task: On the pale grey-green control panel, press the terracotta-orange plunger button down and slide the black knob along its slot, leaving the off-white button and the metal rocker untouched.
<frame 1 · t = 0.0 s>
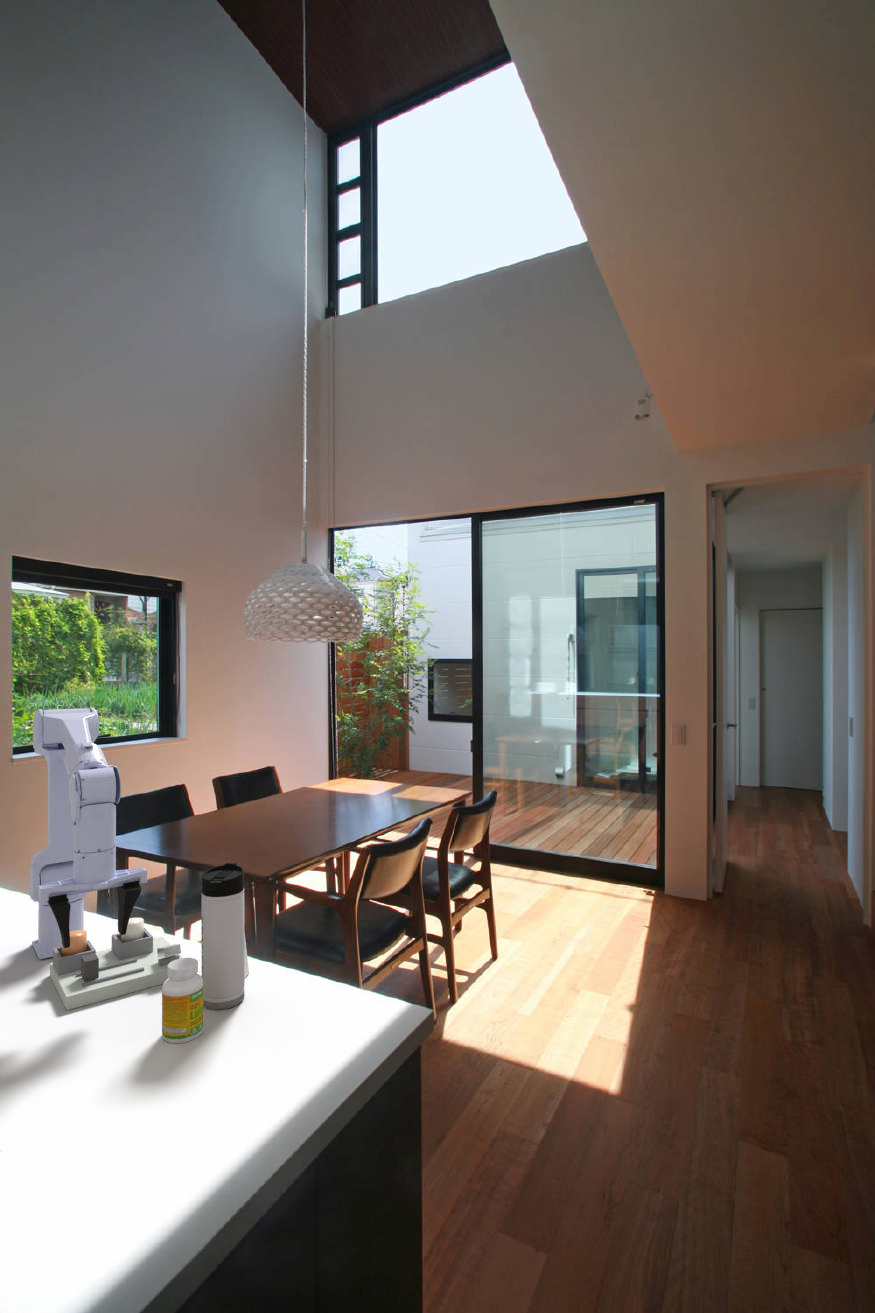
hand: (94, 939, 102), 10 cm above the counter, tool pointing down, fingers open, 7 cm apart
button orange: (74, 943, 112), point 6 cm above the counter, slide at 0.0 cm
pepper shaker: (231, 977, 112), on the counter
rocker: (168, 951, 113), point 4 cm above the counter, hinge at -18.0°
slider knob: (89, 967, 107), point 4 cm above the counter, slide at 0.0 cm
panel: (119, 975, 113), on the counter
travel mug: (223, 1001, 104), on the counter
button white: (132, 930, 118), point 6 cm above the counter, slide at 0.0 cm
supplement bottle: (182, 1035, 94), on the counter
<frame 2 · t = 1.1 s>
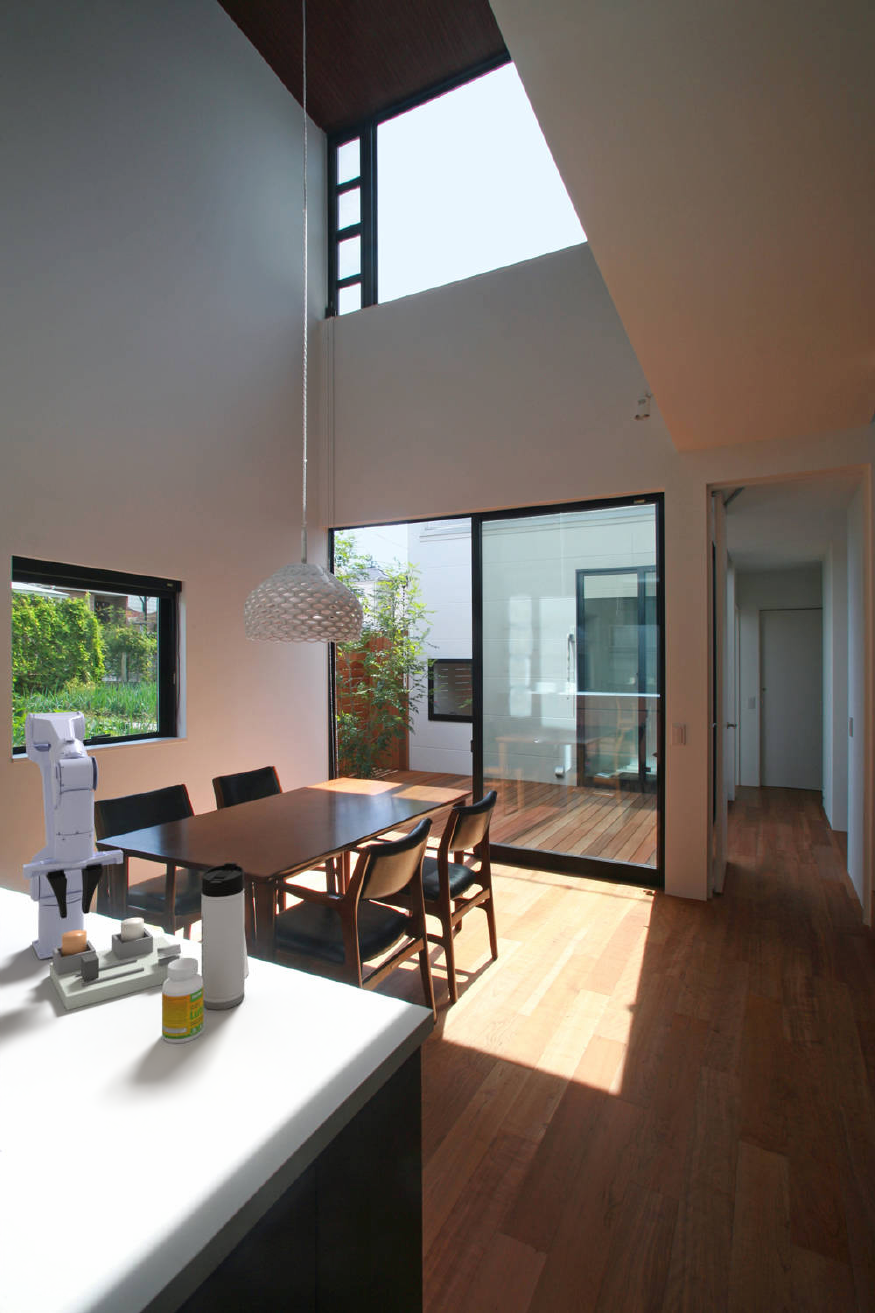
hand: (74, 914, 112), 10 cm above the counter, tool pointing down, fingers open, 3 cm apart
nothing on the counter moved.
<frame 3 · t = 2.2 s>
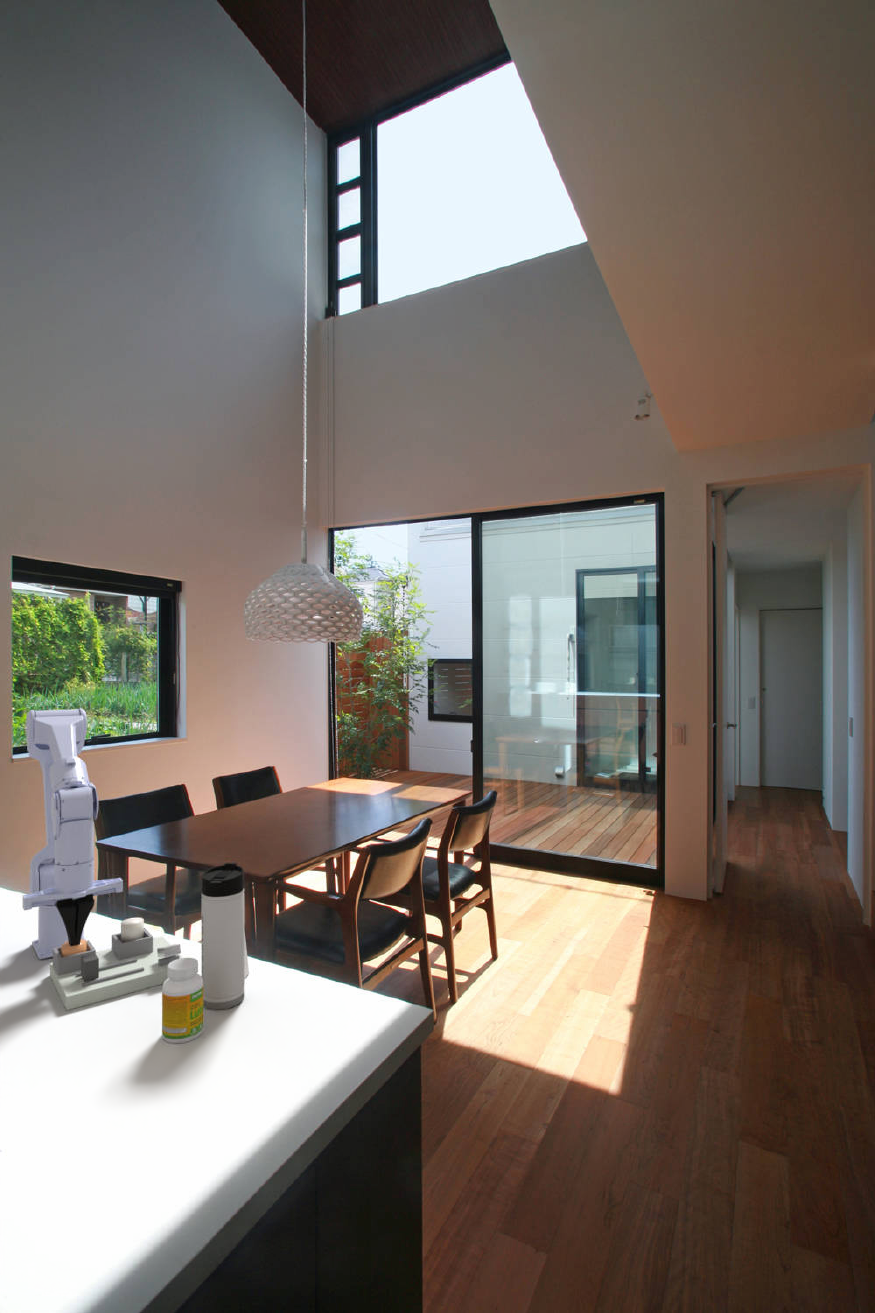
hand: (74, 943, 112), 6 cm above the counter, tool pointing down, fingers closed, pressing on button orange
button orange: (74, 952, 112), point 4 cm above the counter, slide at 1.5 cm, touching gripper
everything else where it was.
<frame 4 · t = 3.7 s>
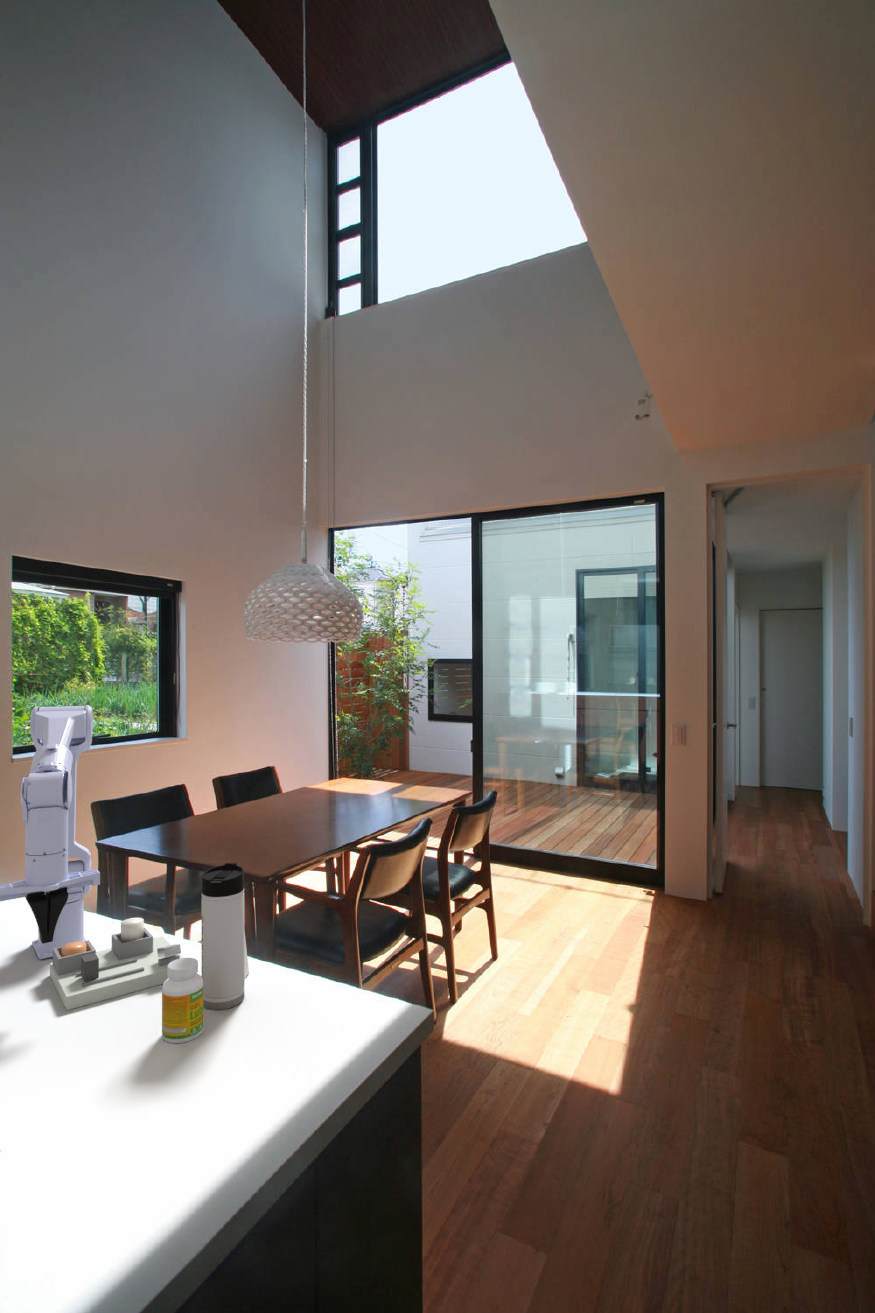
hand: (46, 940, 104), 9 cm above the counter, tool pointing down, fingers closed
button orange: (74, 955, 112), point 4 cm above the counter, slide at 1.9 cm
everything else where it was.
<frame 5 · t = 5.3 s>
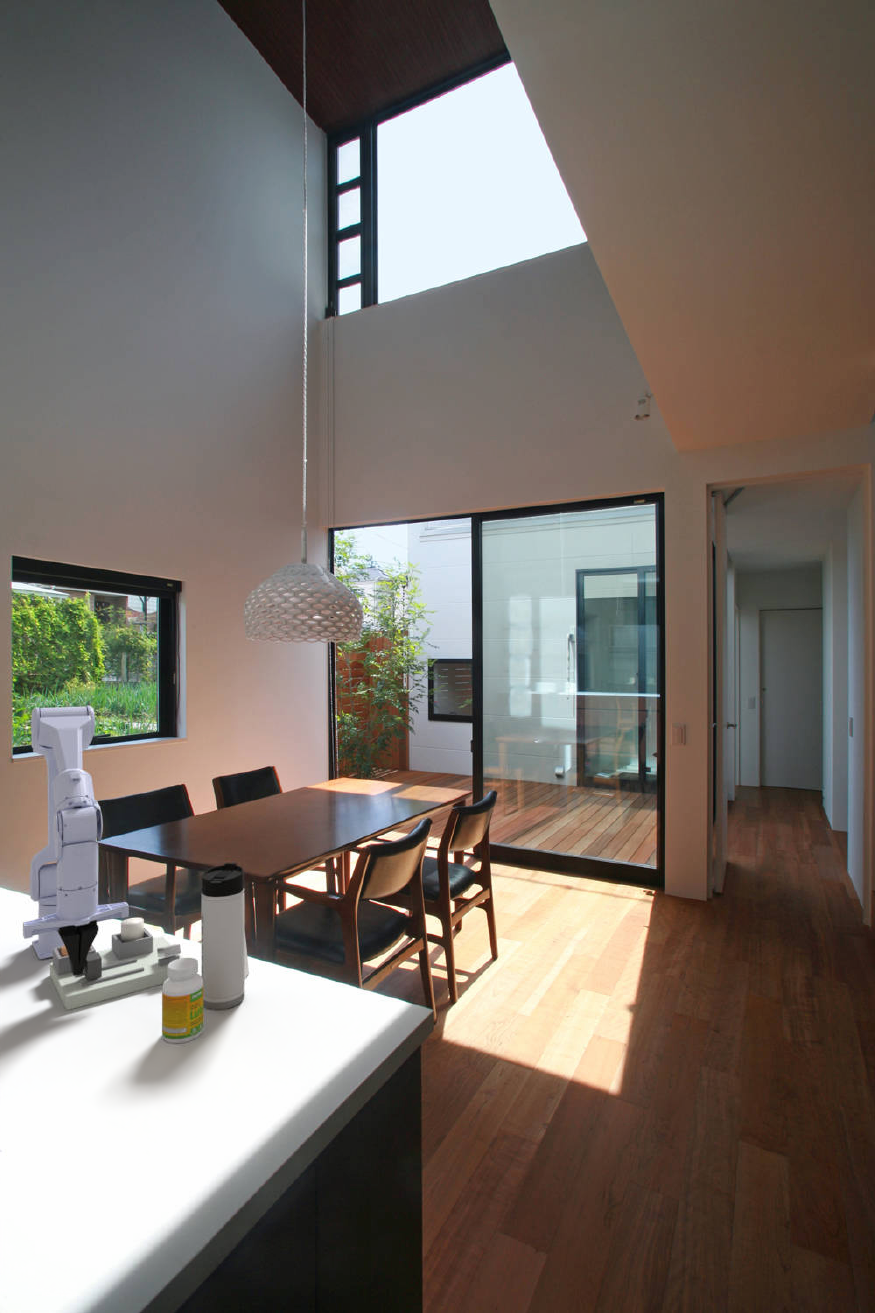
hand: (77, 972, 106), 3 cm above the counter, tool pointing down, fingers closed
slider knob: (92, 966, 107), point 4 cm above the counter, slide at 0.4 cm, touching gripper
everything else where it was.
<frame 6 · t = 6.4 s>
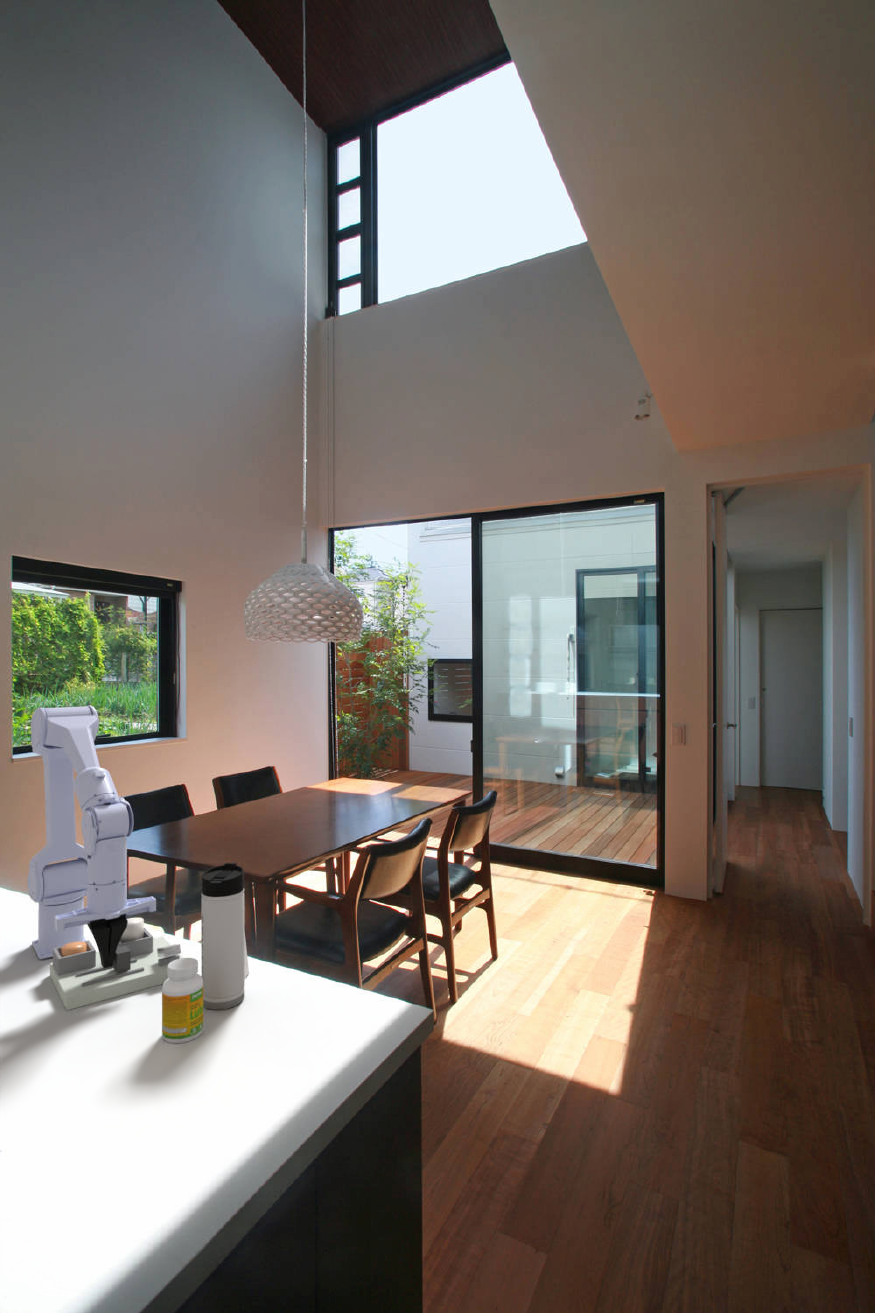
hand: (107, 965, 109), 3 cm above the counter, tool pointing down, fingers closed
slider knob: (121, 959, 110), point 4 cm above the counter, slide at 4.7 cm, touching gripper
everything else where it was.
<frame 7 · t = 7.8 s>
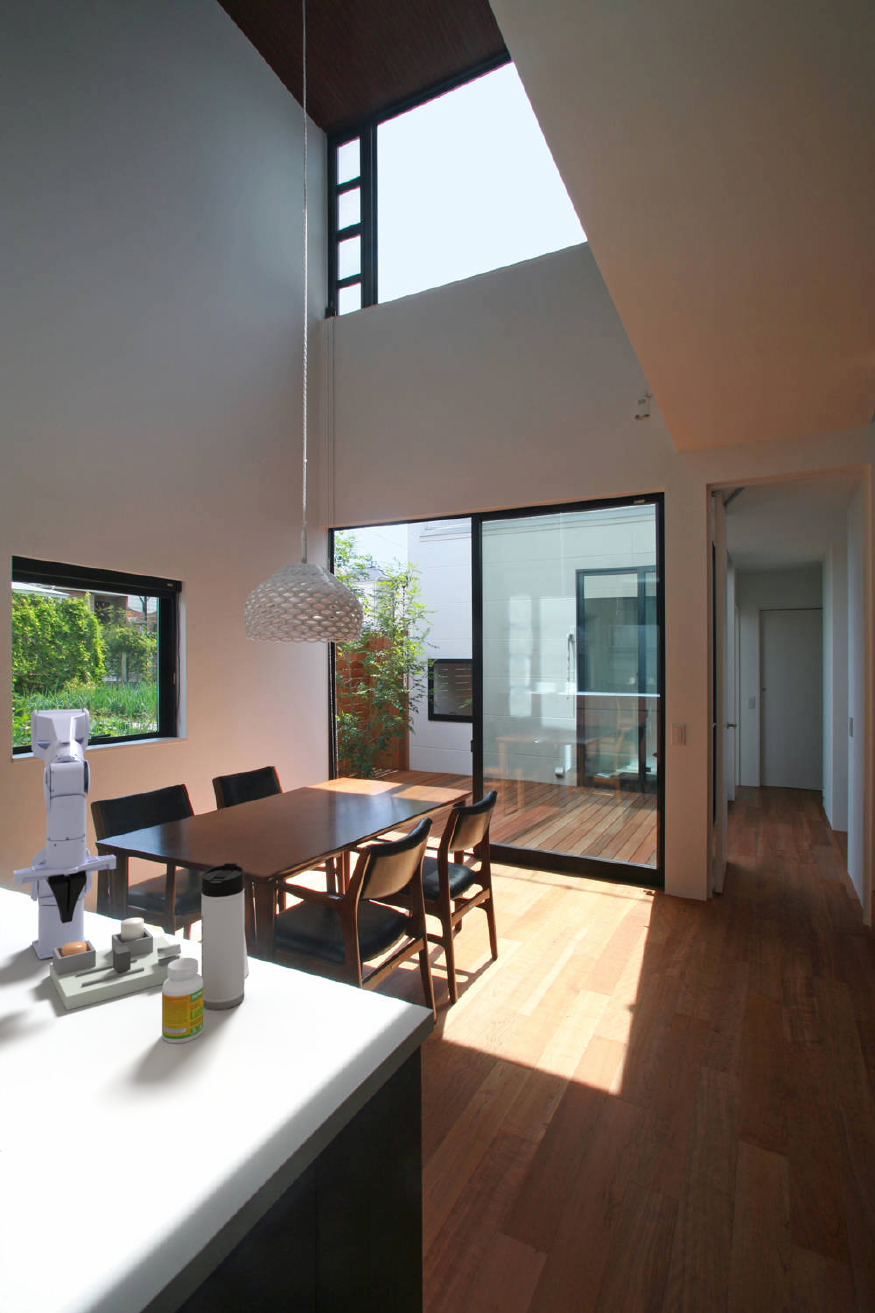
hand: (66, 920, 110), 10 cm above the counter, tool pointing down, fingers closed
slider knob: (121, 959, 110), point 4 cm above the counter, slide at 4.7 cm
everything else where it was.
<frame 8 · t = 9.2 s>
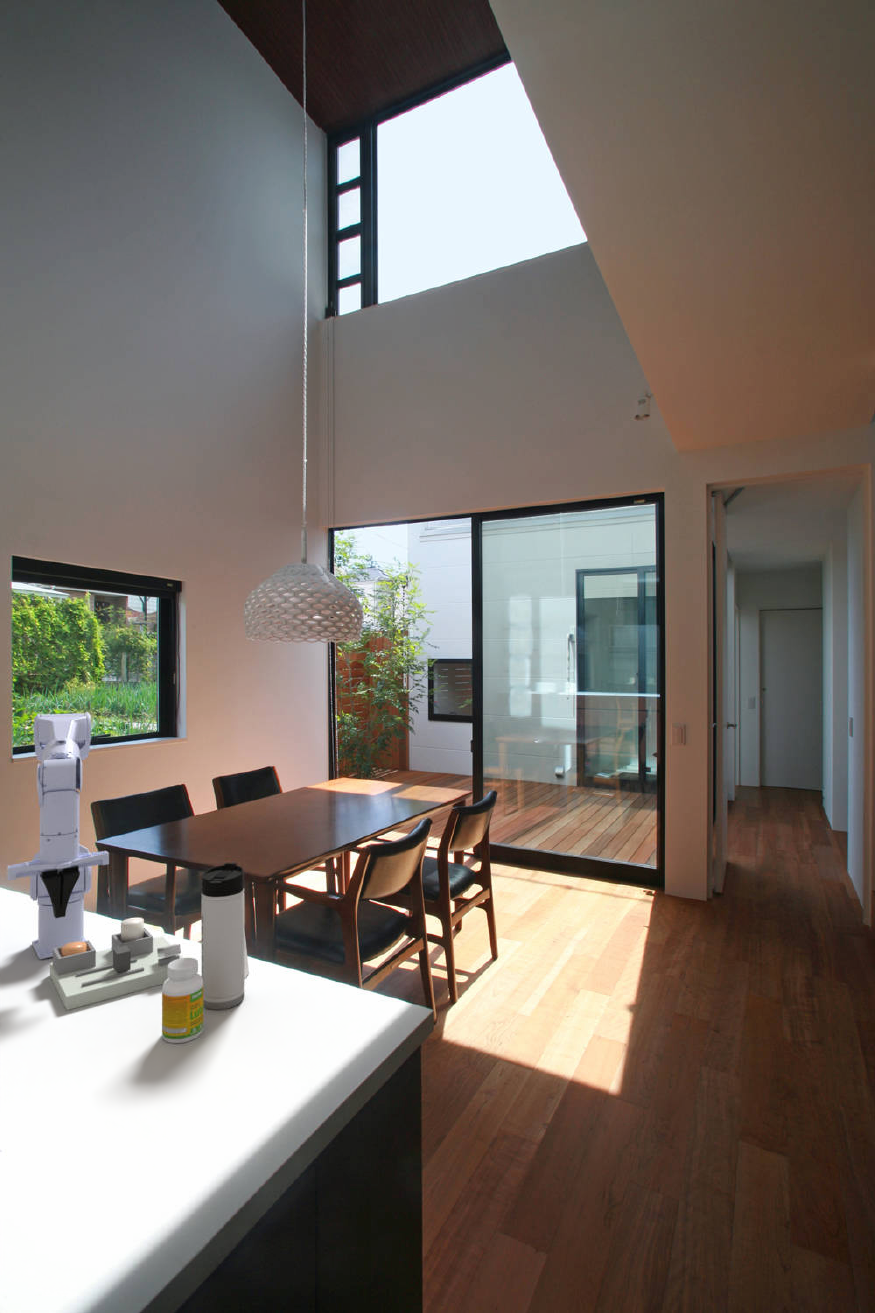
hand: (59, 916, 111), 10 cm above the counter, tool pointing down, fingers closed
nothing on the counter moved.
at the end: button orange slide at 1.9 cm; slider knob slide at 4.7 cm; button white slide at 0.0 cm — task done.
